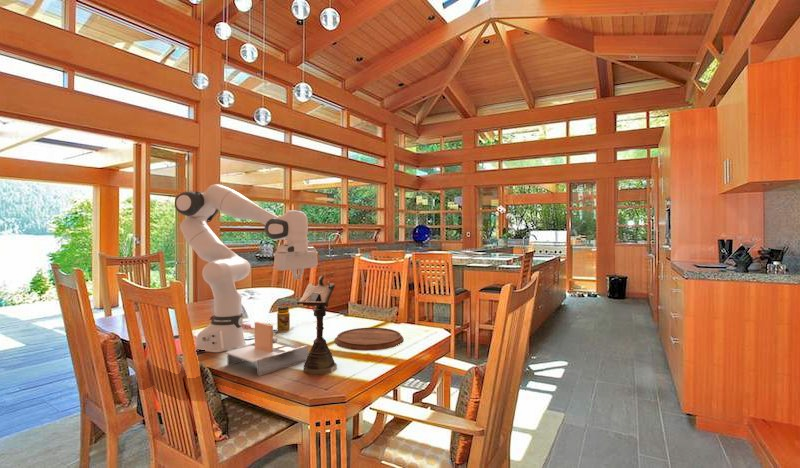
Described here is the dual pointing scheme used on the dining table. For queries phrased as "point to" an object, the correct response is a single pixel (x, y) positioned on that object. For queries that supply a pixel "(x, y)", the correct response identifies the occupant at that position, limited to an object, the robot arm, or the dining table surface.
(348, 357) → the dining table surface
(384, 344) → the cutting board
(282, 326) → the condiment
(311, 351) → the dark ornate pedestal stand
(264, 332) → the sliding cover
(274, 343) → the grey metal tray
